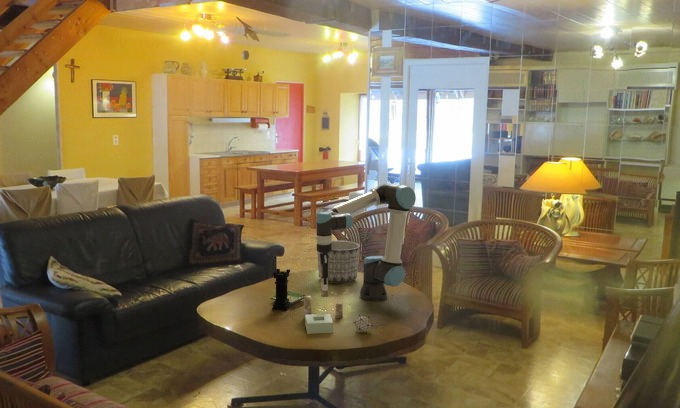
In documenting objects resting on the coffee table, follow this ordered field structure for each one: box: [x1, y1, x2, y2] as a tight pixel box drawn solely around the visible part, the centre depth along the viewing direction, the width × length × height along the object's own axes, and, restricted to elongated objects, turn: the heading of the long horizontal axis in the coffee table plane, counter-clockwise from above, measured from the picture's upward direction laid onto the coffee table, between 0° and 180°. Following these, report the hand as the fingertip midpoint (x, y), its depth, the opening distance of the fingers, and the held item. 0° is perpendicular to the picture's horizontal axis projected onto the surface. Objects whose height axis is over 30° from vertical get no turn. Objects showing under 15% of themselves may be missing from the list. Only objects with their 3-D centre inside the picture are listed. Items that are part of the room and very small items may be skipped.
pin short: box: [335, 301, 344, 319], centre depth 297 cm, size 4×4×7 cm
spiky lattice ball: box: [352, 313, 374, 335], centre depth 277 cm, size 9×8×10 cm
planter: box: [316, 240, 361, 284], centre depth 361 cm, size 26×26×22 cm
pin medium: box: [303, 295, 312, 320], centre depth 295 cm, size 4×4×11 cm
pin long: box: [320, 264, 329, 298], centre depth 294 cm, size 4×4×16 cm
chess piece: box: [271, 268, 292, 312], centre depth 309 cm, size 8×8×20 cm
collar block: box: [304, 313, 334, 335], centre depth 281 cm, size 12×12×5 cm
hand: (324, 288), depth 295 cm, fingers closed on pin long, 3 cm apart
